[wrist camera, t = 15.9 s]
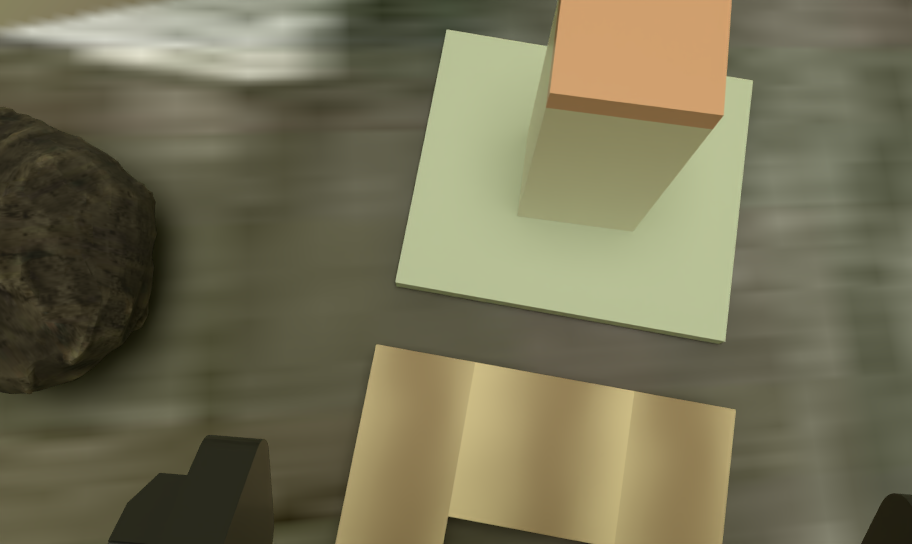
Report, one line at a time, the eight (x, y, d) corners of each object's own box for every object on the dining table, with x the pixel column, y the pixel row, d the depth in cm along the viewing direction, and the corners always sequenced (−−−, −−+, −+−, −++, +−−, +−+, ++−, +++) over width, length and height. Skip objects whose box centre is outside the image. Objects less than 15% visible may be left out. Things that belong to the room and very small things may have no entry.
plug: (517, 216, 35) (549, 92, 23) (528, 130, 36) (564, -30, 24) (632, 231, 35) (723, 115, 23) (640, 145, 36) (732, -9, 24)
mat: (396, 286, 35) (395, 282, 34) (446, 38, 38) (446, 29, 37) (718, 344, 35) (724, 341, 34) (746, 88, 37) (752, 80, 36)
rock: (-20, 107, 36) (-171, 20, 26) (221, 200, 37) (164, 149, 27) (-117, 321, 35) (-314, 314, 25) (133, 412, 36) (40, 441, 26)
